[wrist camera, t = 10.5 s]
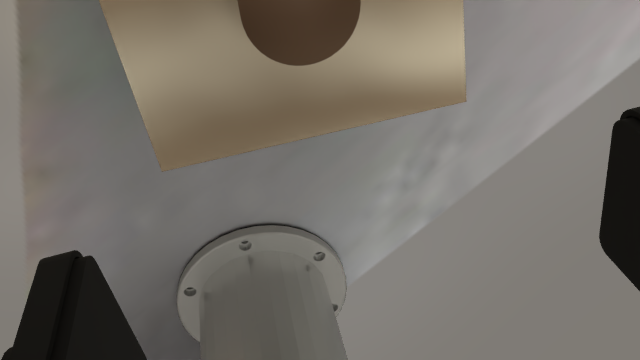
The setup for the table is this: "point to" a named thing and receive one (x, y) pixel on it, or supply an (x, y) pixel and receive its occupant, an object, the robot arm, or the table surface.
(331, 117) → the cover
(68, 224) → the table surface
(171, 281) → the table surface
